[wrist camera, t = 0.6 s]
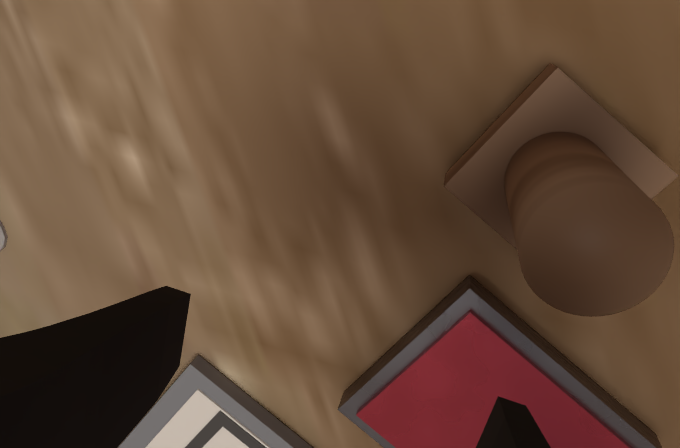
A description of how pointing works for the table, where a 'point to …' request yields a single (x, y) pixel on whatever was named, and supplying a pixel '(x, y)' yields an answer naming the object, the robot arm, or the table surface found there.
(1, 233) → the emergency button
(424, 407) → the ink pad
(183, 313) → the robot arm
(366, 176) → the table surface
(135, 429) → the grey white rectangular board
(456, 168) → the stamp
